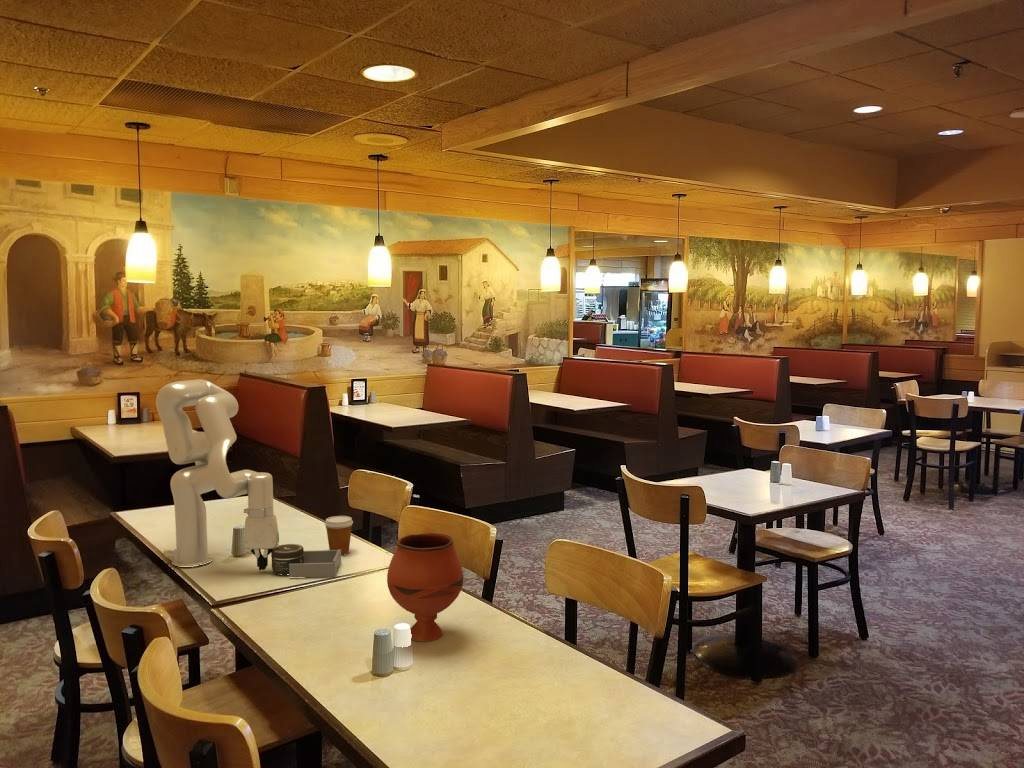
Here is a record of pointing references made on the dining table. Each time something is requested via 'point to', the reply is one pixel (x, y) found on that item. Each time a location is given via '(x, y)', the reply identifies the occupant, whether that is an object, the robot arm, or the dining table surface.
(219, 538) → the dining table surface
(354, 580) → the dining table surface
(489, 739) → the dining table surface
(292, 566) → the bin
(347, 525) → the disposable coffee cup
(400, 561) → the goblet
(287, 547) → the jar
